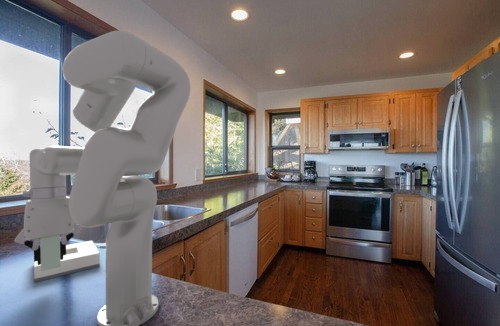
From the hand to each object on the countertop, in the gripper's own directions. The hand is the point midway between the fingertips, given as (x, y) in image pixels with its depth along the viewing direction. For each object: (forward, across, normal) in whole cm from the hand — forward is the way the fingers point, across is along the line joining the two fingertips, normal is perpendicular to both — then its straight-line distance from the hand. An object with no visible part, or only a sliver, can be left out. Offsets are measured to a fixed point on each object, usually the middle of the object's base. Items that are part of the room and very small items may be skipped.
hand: (50, 260), depth 65 cm
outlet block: (+7, +4, +15) cm, 17 cm away
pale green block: (+2, 0, 0) cm, 2 cm away
